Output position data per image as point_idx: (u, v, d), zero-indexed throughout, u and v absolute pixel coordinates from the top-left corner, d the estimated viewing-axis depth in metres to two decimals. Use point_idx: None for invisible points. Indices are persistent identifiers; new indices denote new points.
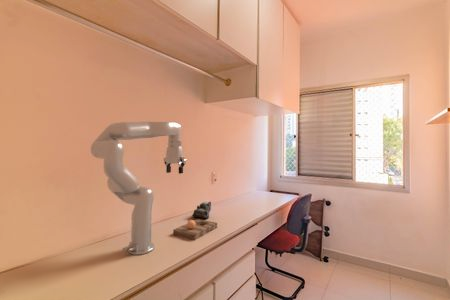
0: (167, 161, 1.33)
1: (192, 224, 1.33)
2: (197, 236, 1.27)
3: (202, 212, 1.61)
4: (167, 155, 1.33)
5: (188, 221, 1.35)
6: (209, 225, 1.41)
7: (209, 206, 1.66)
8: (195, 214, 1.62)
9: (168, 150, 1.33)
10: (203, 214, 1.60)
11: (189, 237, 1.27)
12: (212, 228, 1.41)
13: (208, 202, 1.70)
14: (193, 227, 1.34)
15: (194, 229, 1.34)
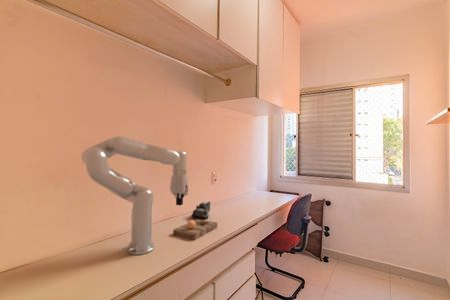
0: (172, 190, 1.28)
1: (192, 224, 1.33)
2: (197, 236, 1.27)
3: (201, 212, 1.61)
4: (171, 184, 1.28)
5: (188, 221, 1.35)
6: (209, 225, 1.41)
7: (208, 206, 1.66)
8: (194, 214, 1.62)
9: (173, 179, 1.27)
10: (202, 214, 1.61)
11: (189, 237, 1.27)
12: (212, 228, 1.41)
13: (207, 202, 1.70)
14: (193, 227, 1.34)
15: (194, 229, 1.34)
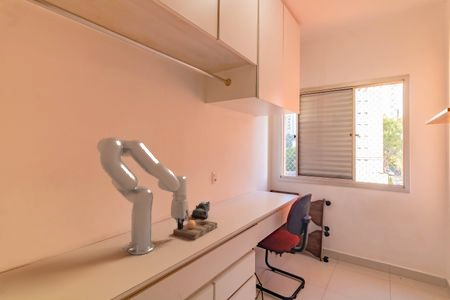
0: (172, 215, 1.28)
1: (192, 224, 1.33)
2: (197, 236, 1.27)
3: (201, 212, 1.61)
4: (172, 209, 1.28)
5: (188, 221, 1.35)
6: (209, 225, 1.41)
7: (208, 206, 1.66)
8: (194, 214, 1.62)
9: (173, 204, 1.27)
10: (202, 214, 1.61)
11: (189, 237, 1.27)
12: (212, 228, 1.41)
13: (207, 202, 1.70)
14: (193, 227, 1.34)
15: (194, 229, 1.34)
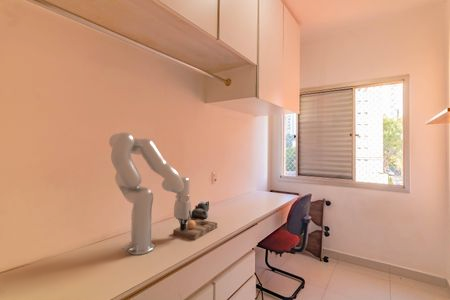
0: (175, 216, 1.30)
1: (192, 224, 1.33)
2: (197, 236, 1.27)
3: (201, 212, 1.61)
4: (175, 210, 1.30)
5: (188, 221, 1.35)
6: (209, 225, 1.41)
7: (207, 206, 1.67)
8: (193, 214, 1.63)
9: (176, 205, 1.30)
10: (202, 214, 1.61)
11: (189, 237, 1.27)
12: (212, 228, 1.41)
13: (206, 202, 1.71)
14: (193, 227, 1.34)
15: (194, 229, 1.34)
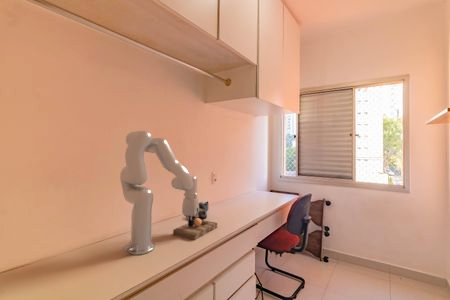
0: (183, 213, 1.36)
1: None
2: (197, 236, 1.27)
3: (200, 212, 1.61)
4: (183, 207, 1.37)
5: None
6: (209, 225, 1.41)
7: (207, 206, 1.67)
8: None
9: (184, 202, 1.36)
10: (201, 214, 1.61)
11: (189, 237, 1.27)
12: (212, 228, 1.41)
13: (205, 202, 1.71)
14: (198, 221, 1.37)
15: (194, 229, 1.34)
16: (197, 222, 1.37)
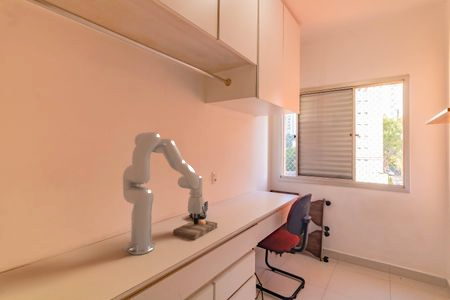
0: (189, 211, 1.41)
1: (203, 222, 1.44)
2: (197, 236, 1.27)
3: None
4: (189, 205, 1.41)
5: None
6: (209, 225, 1.41)
7: (206, 206, 1.67)
8: None
9: (190, 200, 1.41)
10: None
11: (189, 237, 1.27)
12: (212, 228, 1.41)
13: (205, 202, 1.71)
14: None
15: (194, 229, 1.34)
16: None
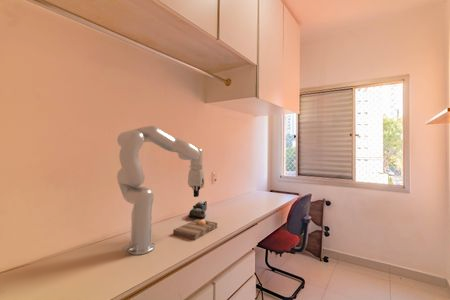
0: (189, 183, 1.41)
1: (203, 222, 1.44)
2: (197, 236, 1.27)
3: (199, 212, 1.62)
4: (189, 178, 1.41)
5: None
6: (209, 225, 1.41)
7: (205, 206, 1.67)
8: (192, 214, 1.63)
9: (190, 173, 1.41)
10: (200, 214, 1.61)
11: (189, 237, 1.27)
12: (212, 228, 1.41)
13: (204, 202, 1.71)
14: None
15: (194, 229, 1.34)
16: None
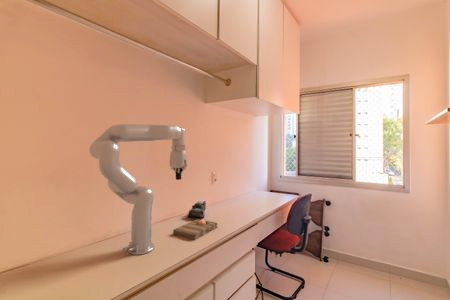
0: (171, 165, 1.32)
1: (203, 222, 1.44)
2: (197, 236, 1.27)
3: (198, 212, 1.62)
4: (171, 160, 1.32)
5: None
6: (209, 225, 1.41)
7: (204, 205, 1.68)
8: (191, 214, 1.63)
9: (172, 154, 1.32)
10: (199, 213, 1.62)
11: (189, 237, 1.27)
12: (212, 228, 1.41)
13: (203, 202, 1.71)
14: None
15: (194, 229, 1.34)
16: None
